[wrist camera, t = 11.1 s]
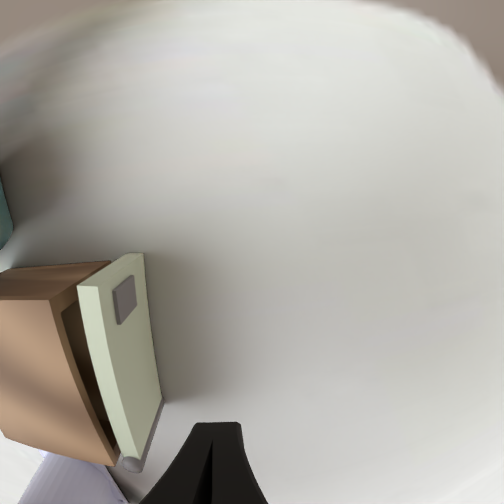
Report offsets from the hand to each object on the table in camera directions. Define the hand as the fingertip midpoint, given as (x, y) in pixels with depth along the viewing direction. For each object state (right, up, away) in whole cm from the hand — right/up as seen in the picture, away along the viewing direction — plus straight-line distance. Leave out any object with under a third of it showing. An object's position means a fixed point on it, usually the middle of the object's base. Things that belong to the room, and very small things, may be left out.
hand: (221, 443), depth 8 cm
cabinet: (-11, 0, +10) cm, 15 cm away
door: (-6, +1, +10) cm, 11 cm away
